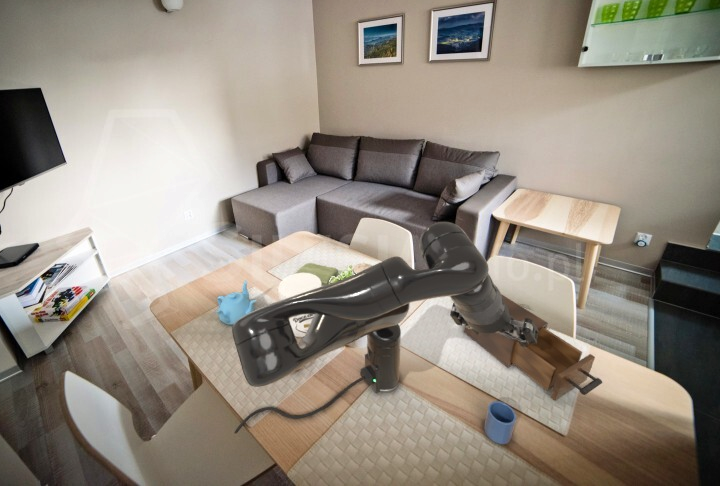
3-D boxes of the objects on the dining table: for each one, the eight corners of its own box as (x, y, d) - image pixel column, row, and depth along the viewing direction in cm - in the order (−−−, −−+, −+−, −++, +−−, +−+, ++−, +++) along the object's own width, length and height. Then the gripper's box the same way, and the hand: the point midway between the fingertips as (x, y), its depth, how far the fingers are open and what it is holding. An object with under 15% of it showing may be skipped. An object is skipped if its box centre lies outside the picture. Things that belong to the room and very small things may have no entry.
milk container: (311, 349, 110) (306, 307, 103) (272, 331, 119) (264, 292, 111) (336, 317, 123) (333, 277, 116) (299, 303, 132) (294, 266, 124)
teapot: (216, 310, 133) (211, 289, 128) (253, 299, 137) (248, 278, 133) (220, 334, 120) (214, 312, 116) (260, 320, 125) (256, 299, 120)
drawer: (603, 392, 88) (613, 368, 84) (571, 414, 83) (580, 390, 79) (532, 342, 104) (538, 321, 100) (502, 359, 99) (507, 337, 96)
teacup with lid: (369, 296, 133) (369, 272, 128) (349, 290, 138) (348, 266, 133) (381, 280, 142) (381, 257, 137) (362, 275, 147) (361, 252, 142)
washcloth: (306, 265, 158) (306, 259, 156) (339, 273, 149) (339, 267, 148) (291, 280, 147) (291, 274, 146) (326, 289, 139) (325, 283, 138)
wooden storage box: (540, 349, 103) (548, 323, 98) (507, 368, 98) (514, 341, 93) (494, 317, 117) (499, 292, 112) (463, 332, 112) (467, 307, 107)
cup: (499, 448, 78) (504, 429, 75) (478, 426, 83) (482, 407, 80) (516, 437, 80) (521, 417, 77) (495, 416, 85) (499, 397, 82)
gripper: (434, 314, 60) (459, 343, 70) (523, 335, 50) (538, 366, 60) (444, 277, 63) (467, 311, 73) (531, 291, 53) (544, 327, 63)
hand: (499, 335), depth 67 cm, fingers open, 8 cm apart
